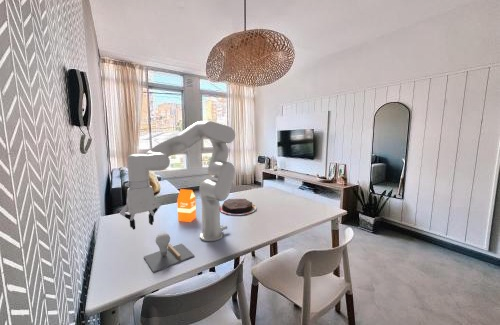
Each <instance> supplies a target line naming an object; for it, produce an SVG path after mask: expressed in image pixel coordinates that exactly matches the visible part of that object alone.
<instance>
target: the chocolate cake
mask: <svg viewBox="0 0 500 325" xmlns="http://www.w3.org/2000/svg"><path fill="white" fill-rule="evenodd" d="M256 210H257V206H256V205H255V204H253V202H252V201H250V200H248V199H247V198H227V199H225V200H224V202H223V203H222V204H221V205H220V213H222V214H225V215H227V216H247V215H249V214H250V215H251V214H253V213H255V211H256Z"/></svg>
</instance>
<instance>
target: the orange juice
mask: <svg viewBox="0 0 500 325" xmlns="http://www.w3.org/2000/svg"><path fill="white" fill-rule="evenodd" d="M176 201H177V202H176V203H177V221H178V222H186V223H187V222H188V223H191V222H192V221H194V220H196V217H197V215H196V214H197V213H196V212H197V208H196V207H197V205H196V195H195V193H194V191H193V189H184V188H183V189H182V188H180V189H179V193H178V196H177V200H176Z"/></svg>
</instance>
